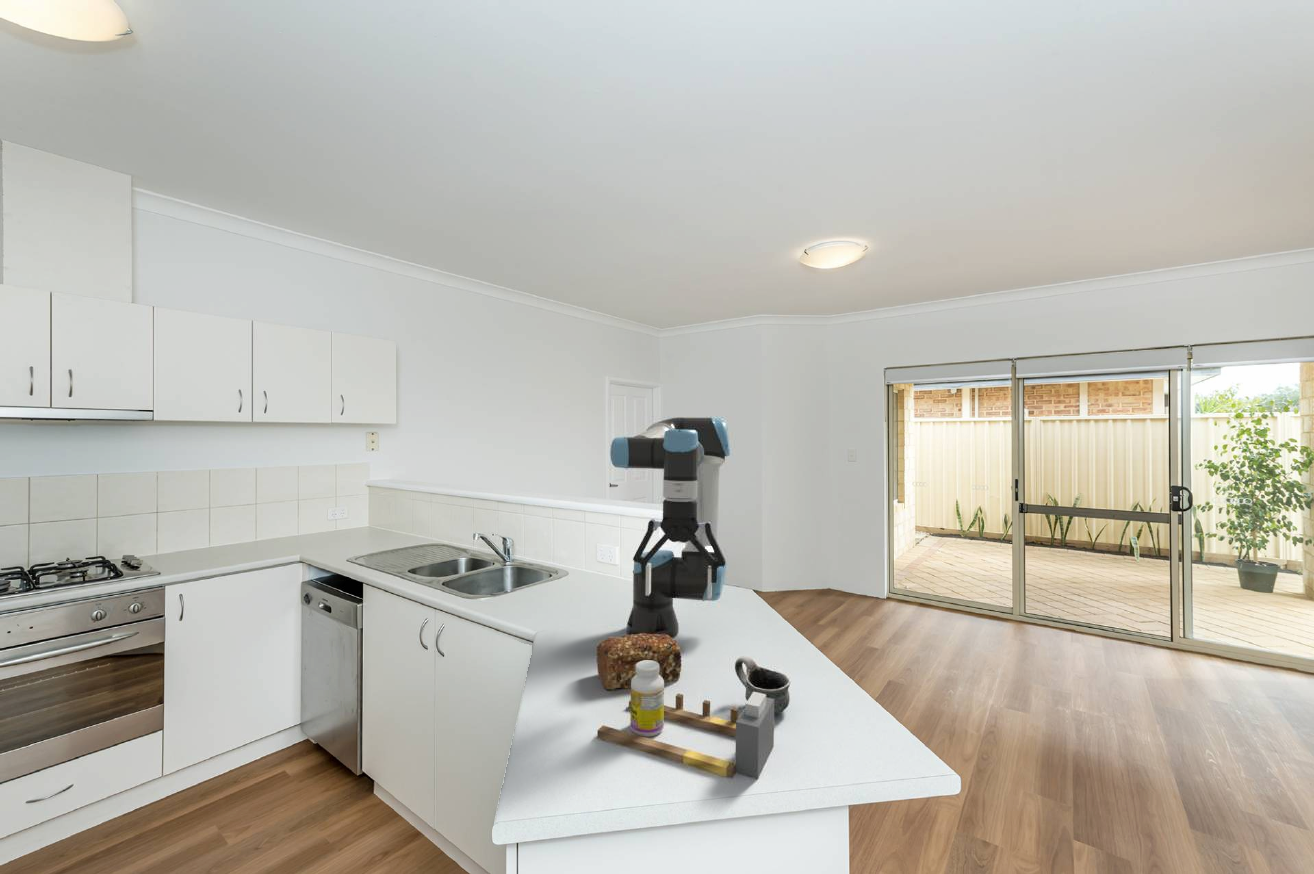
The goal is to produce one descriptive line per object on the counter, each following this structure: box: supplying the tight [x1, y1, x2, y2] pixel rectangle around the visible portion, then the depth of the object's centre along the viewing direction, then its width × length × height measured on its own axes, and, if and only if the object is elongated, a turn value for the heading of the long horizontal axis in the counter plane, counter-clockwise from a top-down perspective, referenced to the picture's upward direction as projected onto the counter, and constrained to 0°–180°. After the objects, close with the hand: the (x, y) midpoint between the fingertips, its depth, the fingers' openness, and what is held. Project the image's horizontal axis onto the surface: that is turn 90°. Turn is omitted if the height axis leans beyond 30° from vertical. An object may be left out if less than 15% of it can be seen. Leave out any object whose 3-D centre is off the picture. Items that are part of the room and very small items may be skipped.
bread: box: [596, 633, 682, 691], centre depth 132 cm, size 19×11×10 cm, turn 109°
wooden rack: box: [596, 693, 739, 779], centre depth 107 cm, size 27×16×4 cm, turn 64°
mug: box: [734, 655, 791, 716], centre depth 118 cm, size 10×12×10 cm
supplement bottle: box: [629, 660, 665, 738], centre depth 109 cm, size 7×7×13 cm
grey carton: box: [733, 692, 775, 780], centre depth 100 cm, size 4×11×11 cm, turn 154°
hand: (678, 595), depth 122 cm, fingers open, 13 cm apart
